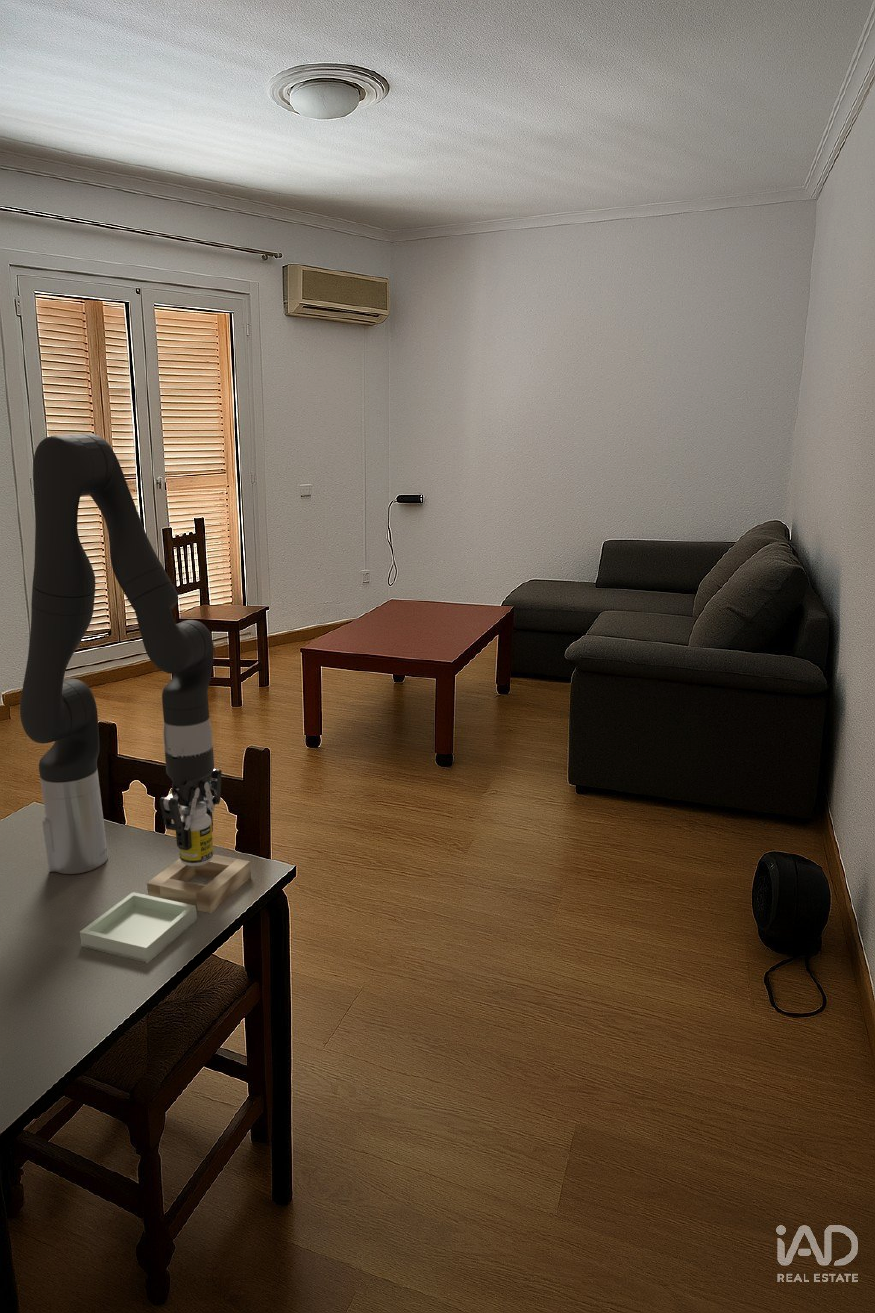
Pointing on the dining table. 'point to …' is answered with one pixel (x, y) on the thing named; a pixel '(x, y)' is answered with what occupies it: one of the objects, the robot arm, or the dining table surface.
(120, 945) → the tray
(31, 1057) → the dining table surface
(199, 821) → the supplement bottle
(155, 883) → the holder block
